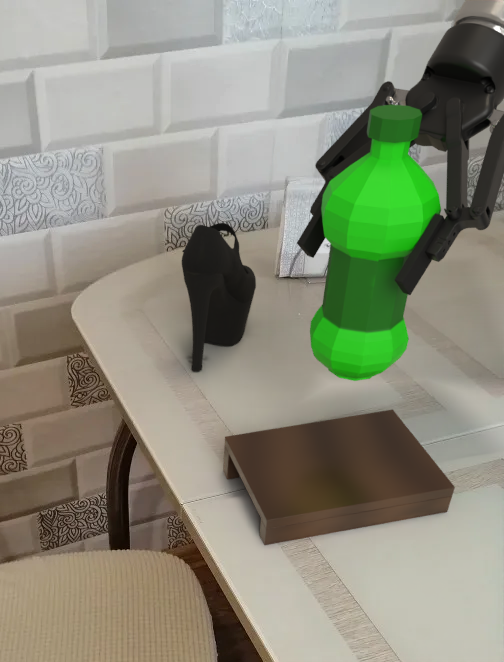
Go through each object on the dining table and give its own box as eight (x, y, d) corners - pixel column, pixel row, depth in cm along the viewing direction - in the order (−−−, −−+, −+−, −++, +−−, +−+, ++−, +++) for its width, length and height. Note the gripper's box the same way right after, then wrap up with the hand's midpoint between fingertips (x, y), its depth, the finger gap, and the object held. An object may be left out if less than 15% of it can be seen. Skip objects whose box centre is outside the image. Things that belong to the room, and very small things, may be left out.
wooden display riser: (385, 443, 94) (392, 409, 91) (444, 522, 84) (455, 487, 81) (222, 470, 91) (224, 436, 88) (263, 556, 81) (267, 520, 78)
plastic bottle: (395, 342, 87) (446, 93, 70) (408, 397, 79) (470, 132, 62) (301, 339, 88) (330, 94, 71) (305, 393, 80) (339, 132, 63)
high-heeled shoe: (262, 317, 117) (273, 181, 104) (217, 385, 105) (223, 239, 91) (211, 308, 120) (215, 174, 107) (161, 372, 107) (159, 229, 94)
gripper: (365, 2, 75) (242, 215, 78) (611, 37, 61) (451, 292, 64) (389, 54, 81) (274, 249, 84) (618, 96, 67) (471, 327, 70)
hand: (351, 268), depth 74 cm, fingers closed on plastic bottle, 10 cm apart
